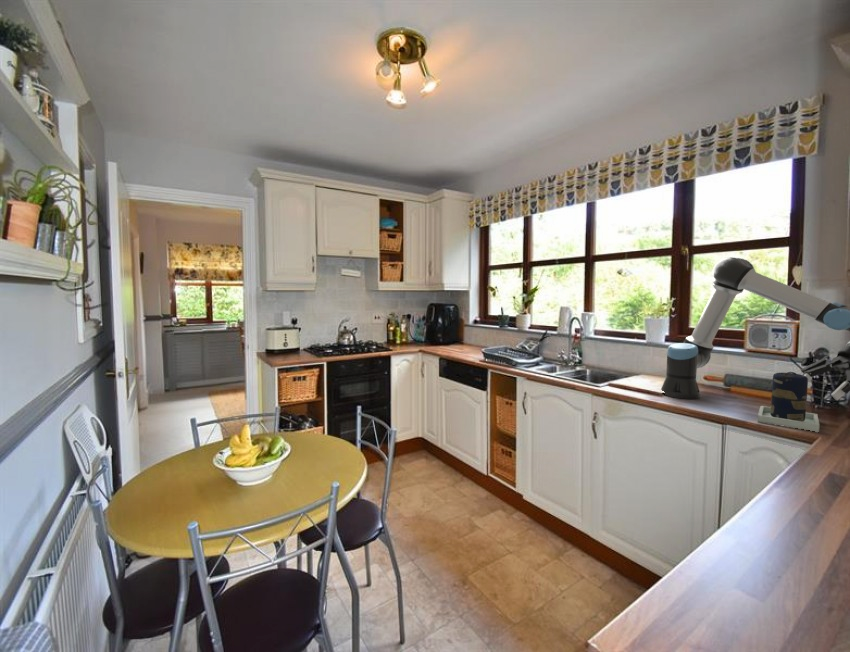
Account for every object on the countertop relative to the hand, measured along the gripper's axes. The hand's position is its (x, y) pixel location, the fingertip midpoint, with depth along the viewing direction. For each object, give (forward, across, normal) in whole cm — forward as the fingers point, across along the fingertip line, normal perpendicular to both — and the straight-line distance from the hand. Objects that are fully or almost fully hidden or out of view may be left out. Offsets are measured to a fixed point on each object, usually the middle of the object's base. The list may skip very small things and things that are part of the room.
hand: (814, 392), depth 145 cm
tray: (+14, 0, -1) cm, 14 cm away
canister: (+14, 0, -1) cm, 14 cm away
